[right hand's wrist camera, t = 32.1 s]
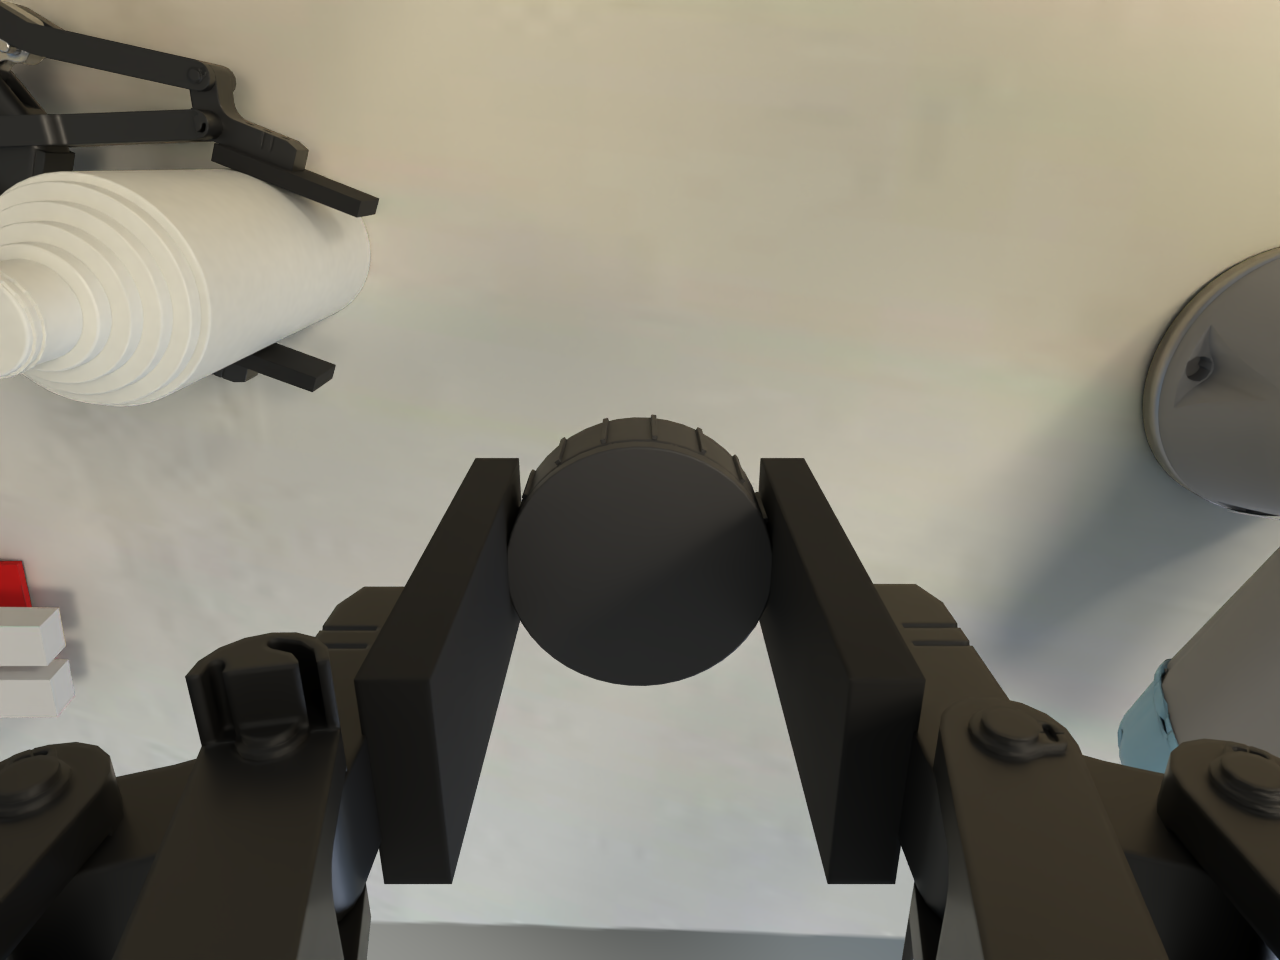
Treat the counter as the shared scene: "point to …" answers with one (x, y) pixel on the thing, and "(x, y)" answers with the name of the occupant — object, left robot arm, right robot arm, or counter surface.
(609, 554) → the cap
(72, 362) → the bottle
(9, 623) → the toy
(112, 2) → the counter surface
